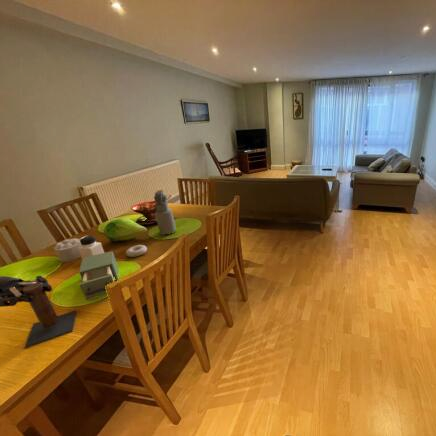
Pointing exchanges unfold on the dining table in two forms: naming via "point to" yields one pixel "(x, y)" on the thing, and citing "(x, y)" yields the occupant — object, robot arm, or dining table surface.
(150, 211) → the red decorative bowl
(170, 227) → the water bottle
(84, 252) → the medicine bottle
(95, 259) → the cabinet
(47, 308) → the pepper mill
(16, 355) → the dining table surface
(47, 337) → the mat
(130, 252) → the donut
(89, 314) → the dining table surface
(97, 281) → the drawer
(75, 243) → the lumpy-topped squat cylinder
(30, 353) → the dining table surface
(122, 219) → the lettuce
